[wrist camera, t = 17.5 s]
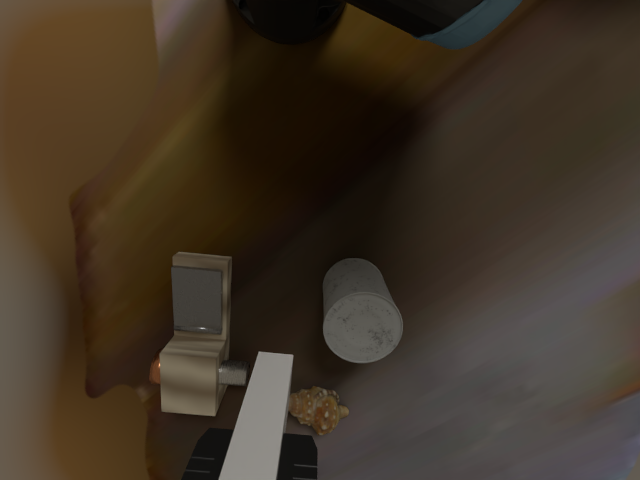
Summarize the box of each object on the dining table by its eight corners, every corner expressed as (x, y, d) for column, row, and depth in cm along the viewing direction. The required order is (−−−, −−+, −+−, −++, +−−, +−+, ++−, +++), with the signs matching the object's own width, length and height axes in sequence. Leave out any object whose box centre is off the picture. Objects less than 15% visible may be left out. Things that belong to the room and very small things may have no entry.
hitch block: (179, 251, 49) (156, 267, 42) (231, 256, 49) (217, 273, 42) (181, 379, 55) (161, 411, 48) (228, 383, 55) (215, 416, 48)
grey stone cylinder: (335, 322, 52) (339, 373, 40) (313, 270, 49) (310, 308, 38) (392, 302, 51) (413, 348, 39) (372, 248, 48) (388, 280, 37)
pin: (165, 341, 52) (148, 362, 47) (251, 349, 52) (244, 370, 47) (166, 369, 53) (150, 391, 48) (250, 376, 54) (242, 399, 49)
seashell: (297, 403, 60) (269, 428, 51) (313, 364, 59) (287, 382, 50) (341, 432, 56) (318, 466, 47) (358, 391, 56) (339, 417, 46)
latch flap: (174, 264, 46) (170, 267, 45) (223, 269, 46) (220, 272, 45) (177, 327, 50) (173, 332, 48) (222, 331, 50) (220, 336, 49)
